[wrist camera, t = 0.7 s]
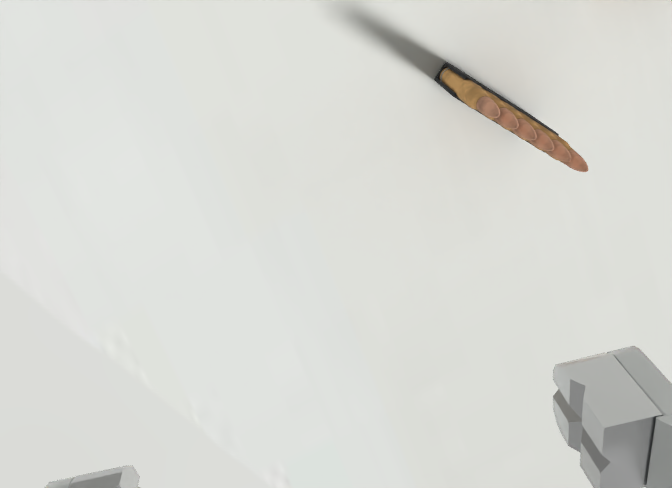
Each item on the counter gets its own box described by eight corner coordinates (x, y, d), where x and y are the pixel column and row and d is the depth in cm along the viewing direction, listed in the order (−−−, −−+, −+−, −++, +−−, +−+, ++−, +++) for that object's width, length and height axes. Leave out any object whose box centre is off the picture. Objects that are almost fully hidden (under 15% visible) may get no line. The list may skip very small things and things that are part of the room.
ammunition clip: (433, 79, 50) (480, 120, 39) (445, 60, 49) (496, 97, 39) (523, 135, 54) (587, 185, 43) (535, 118, 53) (604, 165, 42)
